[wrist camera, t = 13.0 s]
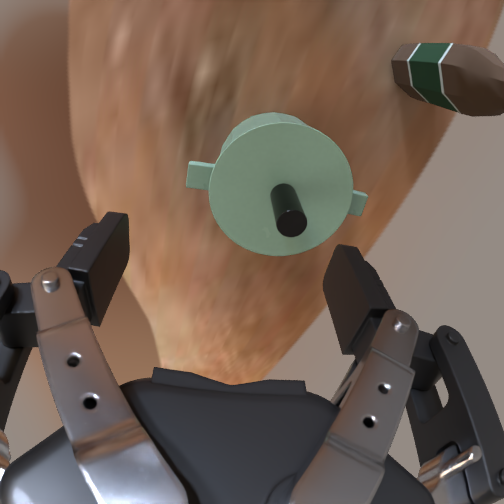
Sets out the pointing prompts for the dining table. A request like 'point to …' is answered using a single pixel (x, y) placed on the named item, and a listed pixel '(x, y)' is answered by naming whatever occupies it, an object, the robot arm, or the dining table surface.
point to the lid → (280, 189)
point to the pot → (202, 171)
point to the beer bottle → (452, 77)
